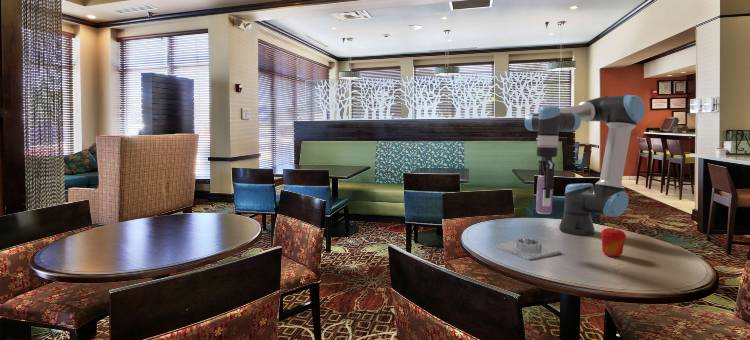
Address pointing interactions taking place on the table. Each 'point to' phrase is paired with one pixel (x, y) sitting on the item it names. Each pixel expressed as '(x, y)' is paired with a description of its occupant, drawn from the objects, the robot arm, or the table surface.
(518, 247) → the duct flange
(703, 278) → the table surface
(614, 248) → the red bell pepper
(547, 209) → the beverage can
